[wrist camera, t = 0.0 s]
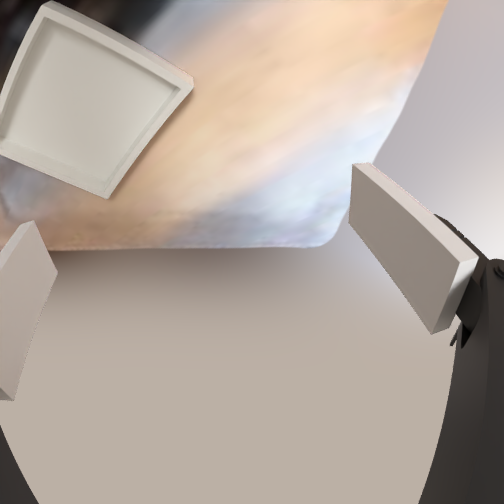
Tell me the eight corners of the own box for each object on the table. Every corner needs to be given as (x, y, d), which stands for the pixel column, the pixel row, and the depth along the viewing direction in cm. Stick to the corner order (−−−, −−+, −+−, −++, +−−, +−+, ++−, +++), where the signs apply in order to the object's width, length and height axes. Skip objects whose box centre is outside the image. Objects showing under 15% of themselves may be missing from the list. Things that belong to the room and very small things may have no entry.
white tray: (51, 0, 20) (41, 4, 18) (193, 77, 33) (194, 87, 31) (-7, 134, 30) (-16, 147, 28) (109, 185, 43) (107, 199, 41)
